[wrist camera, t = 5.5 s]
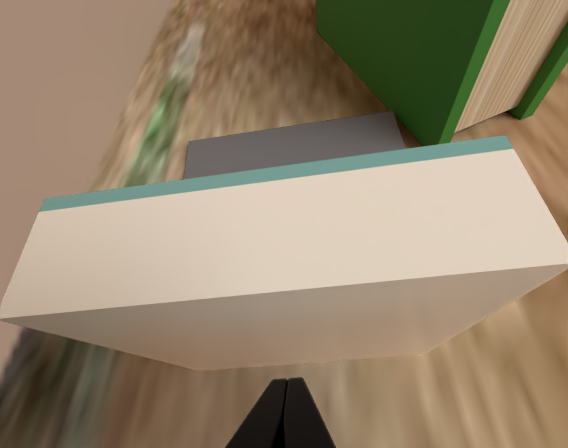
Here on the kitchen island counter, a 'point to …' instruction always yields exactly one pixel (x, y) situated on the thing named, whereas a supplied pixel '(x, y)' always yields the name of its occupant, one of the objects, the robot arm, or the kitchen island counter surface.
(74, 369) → the kitchen island counter surface
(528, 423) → the kitchen island counter surface
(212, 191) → the tile
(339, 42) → the hardback book
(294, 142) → the mat
